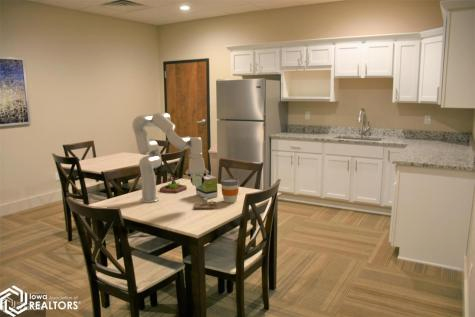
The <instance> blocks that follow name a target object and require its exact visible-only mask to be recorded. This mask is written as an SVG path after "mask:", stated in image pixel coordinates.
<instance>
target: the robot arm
mask: <svg viewBox="0 0 475 317" xmlns="http://www.w3.org/2000/svg"><path fill="white" fill-rule="evenodd" d="M171 120H172V118H171V115H170V114H169V113H167V112H164V111H162V112H157V113H153V114H143V115H138V116H136V117H135V118H134V119H133V121H132V130H133V133H134V138H135V140H136V146H137V149H138V150H137V151H138V152H139V154H140V155H147V156H143V157H141V159H140V160H139V161H138V166H139V169H140V177H141V178H140V179H141V180H140V181H141V195H142V197H141V198H140V199H139V200H140V202H141V203H145V204H149V203H156V202H158V201H159V197H158V196H157V187H156V186H157V185H156V174H155V171H154V169H157V168H159V167H160V166H161V165H162V162H163V161H162V160H163V159H162V155H161V150H160V146H159V144H158V142H157V140H154V139H150V138H149V134H148V132H147V130H146V129H145V128H152V127H157V128H158V129H159V130H161V132H163V133H164V134H165V135H166V138H167V140H168V142H169V143H170V144H171V145H172V146H174V147H175V148H176V149H178V150H184V149H190V154H188V158H189V161H188V169H187V170H186V171H185V173H184V174H186V175H187V176H188V177H189V178H190V183H191V184H192V176H193V175H199V174H201V175H202V184H203V182H204V177H205V176H206V175H207V174H208V175H209V174H210V172H209V170H208V169H207V168H206V166H205V159H204V157H203V140H202V138H201V137H200V136H199V137H198V136H197V137H196V136H195V137H193V136H182V137H181V136H179V135H178V134H177V133H176V132H175V130H176V125H175V123H173V122H172V121H171Z"/></svg>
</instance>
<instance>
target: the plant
mask: <svg viewBox="0 0 475 317" xmlns="http://www.w3.org/2000/svg"><path fill="white" fill-rule="evenodd" d="M176 180H177V181H178V180H179V178H178V177H175V178H174V177H173V176H171V177H170V178H167V181H168V182H167V184H166V185H163V186H161V187H160V188H159V192H161V193H165V194H179V193H181V192H184V191H186V190H187V189H188V186H187V185H186V184H181V183H180V182H177V181H176ZM169 181H170V182H169Z"/></svg>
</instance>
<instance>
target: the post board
mask: <svg viewBox="0 0 475 317" xmlns="http://www.w3.org/2000/svg"><path fill="white" fill-rule="evenodd" d="M216 204H217V202H216V201H213V206H211V201H208V199H207V198H204V197H202V201H195V202H194V205H193V210H199V211H201V210H203V211H204V210H216Z"/></svg>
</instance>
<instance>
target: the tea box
mask: <svg viewBox="0 0 475 317" xmlns="http://www.w3.org/2000/svg"><path fill="white" fill-rule="evenodd" d="M195 194H196V196H199V197H202V198H207V200H209V199H212V198H213V197H214V198H218V177H216V176H214V175H211V174H209V173H208V174H207V175H206V176H205V177H204V182H203V184H202V185H199V186H198V187H195ZM208 198H209V199H208Z"/></svg>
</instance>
